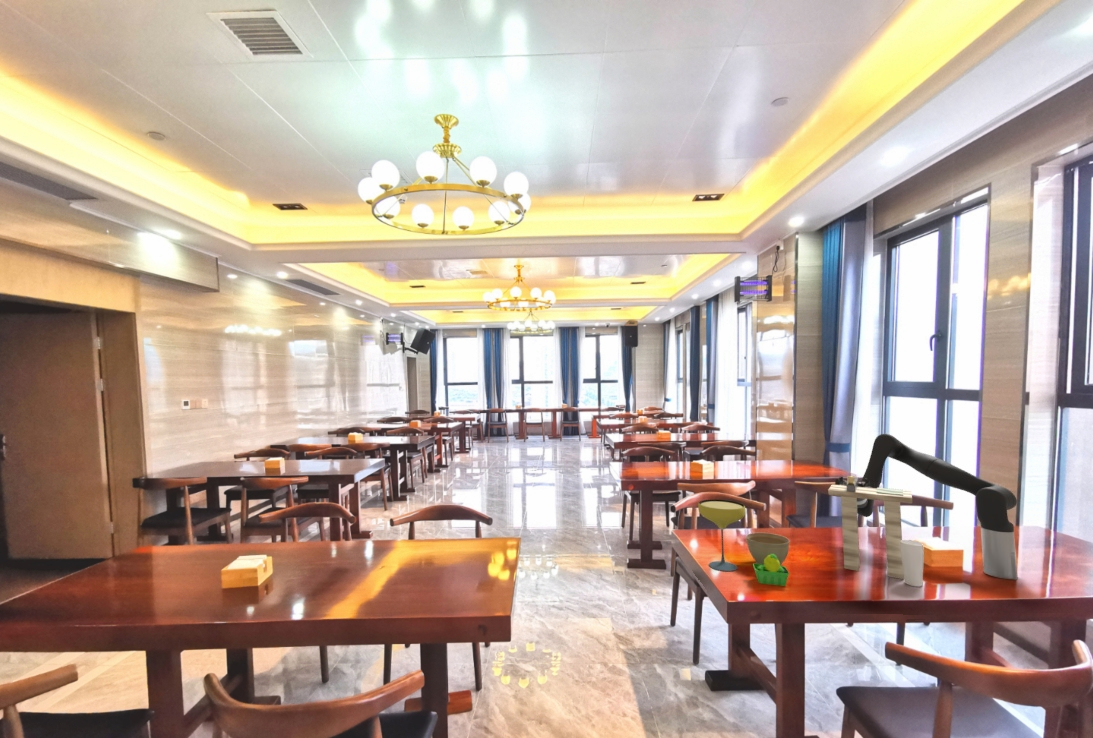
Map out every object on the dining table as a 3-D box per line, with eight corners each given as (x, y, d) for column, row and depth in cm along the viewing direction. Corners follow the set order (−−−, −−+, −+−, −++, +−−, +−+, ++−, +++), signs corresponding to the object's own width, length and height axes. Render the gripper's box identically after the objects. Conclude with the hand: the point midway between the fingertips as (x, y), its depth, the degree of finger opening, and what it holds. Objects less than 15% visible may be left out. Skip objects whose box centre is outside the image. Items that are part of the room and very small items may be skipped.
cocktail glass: (700, 572, 182) (698, 507, 184) (699, 557, 199) (697, 498, 201) (749, 577, 177) (747, 510, 178) (744, 561, 194) (742, 500, 195)
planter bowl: (780, 558, 197) (779, 532, 197) (797, 573, 181) (796, 544, 181) (741, 557, 198) (740, 531, 199) (754, 571, 182) (753, 543, 183)
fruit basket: (785, 579, 174) (784, 549, 175) (791, 589, 166) (790, 557, 166) (752, 576, 177) (751, 546, 178) (756, 586, 169) (755, 554, 169)
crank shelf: (835, 562, 192) (831, 483, 194) (915, 576, 176) (910, 490, 178) (831, 572, 180) (828, 488, 182) (917, 589, 165) (912, 496, 167)
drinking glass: (902, 579, 174) (900, 538, 175) (925, 583, 169) (923, 542, 170) (901, 585, 169) (899, 543, 169) (925, 589, 164) (923, 546, 165)
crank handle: (850, 482, 197) (850, 469, 198) (858, 483, 195) (858, 469, 196) (846, 491, 180) (846, 476, 180) (855, 492, 178) (854, 477, 178)
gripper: (837, 483, 210) (833, 469, 199) (876, 487, 201) (874, 472, 191) (837, 499, 207) (833, 486, 196) (876, 503, 198) (874, 489, 187)
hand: (853, 479), depth 193 cm, fingers open, 8 cm apart
